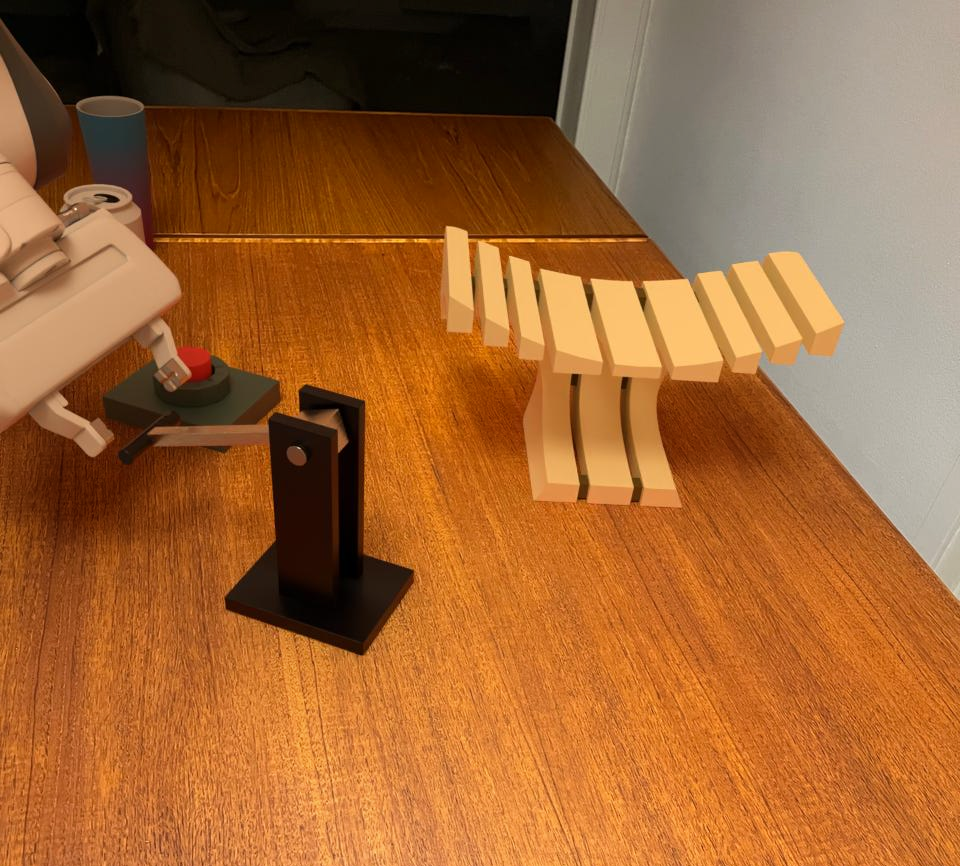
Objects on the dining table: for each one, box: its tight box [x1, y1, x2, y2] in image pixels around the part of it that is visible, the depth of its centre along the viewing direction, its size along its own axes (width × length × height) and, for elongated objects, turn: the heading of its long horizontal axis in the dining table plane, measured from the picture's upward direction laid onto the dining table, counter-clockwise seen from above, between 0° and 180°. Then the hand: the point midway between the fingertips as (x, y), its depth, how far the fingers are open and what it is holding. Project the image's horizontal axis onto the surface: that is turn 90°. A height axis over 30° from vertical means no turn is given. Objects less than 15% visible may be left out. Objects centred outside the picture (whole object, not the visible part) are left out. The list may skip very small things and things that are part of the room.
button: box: [176, 346, 212, 382], centre depth 89 cm, size 4×4×2 cm
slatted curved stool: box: [439, 225, 845, 509], centre depth 87 cm, size 30×16×18 cm, turn 92°
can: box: [59, 183, 145, 243], centre depth 100 cm, size 8×8×12 cm
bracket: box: [224, 383, 415, 656], centre depth 70 cm, size 11×9×16 cm
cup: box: [75, 95, 155, 252], centre depth 110 cm, size 7×7×15 cm
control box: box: [101, 354, 282, 454], centre depth 91 cm, size 12×10×4 cm
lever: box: [117, 409, 349, 466], centre depth 68 cm, size 16×6×2 cm, turn 70°
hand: (145, 415), depth 71 cm, fingers open, 8 cm apart
